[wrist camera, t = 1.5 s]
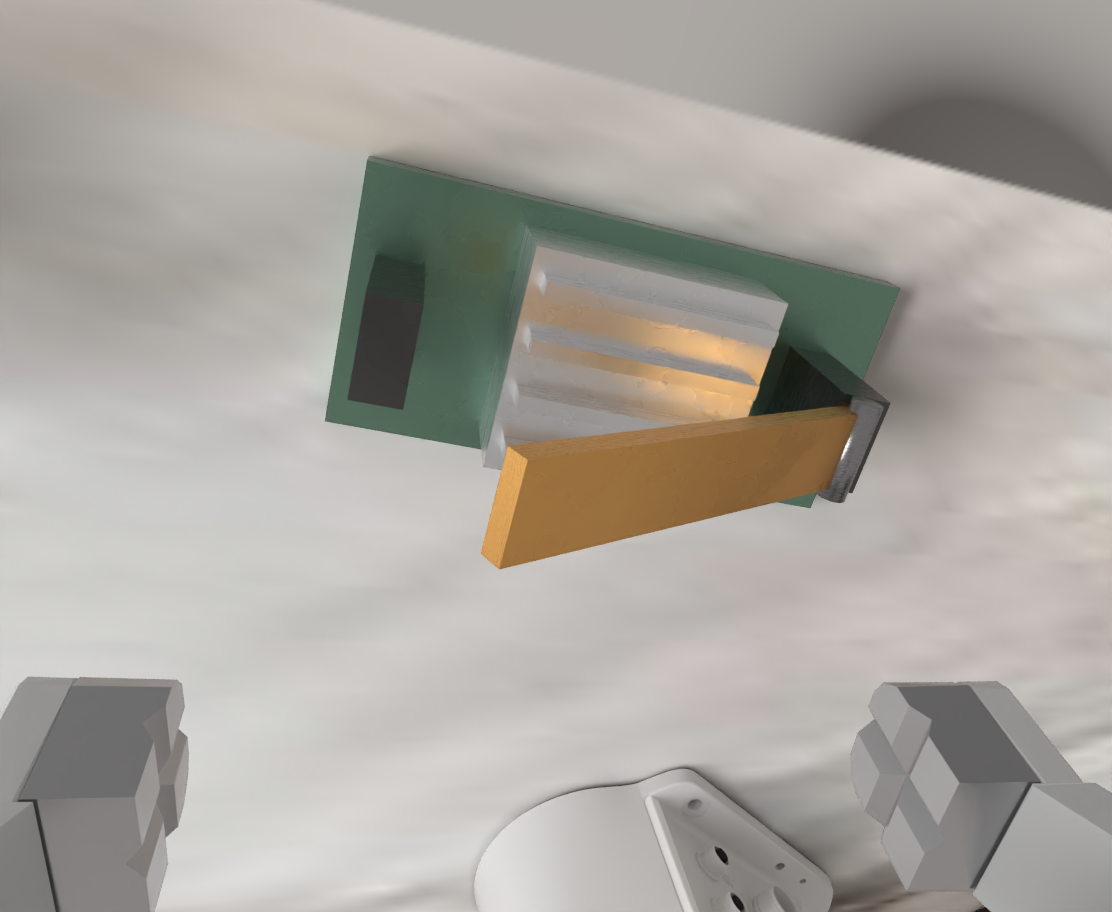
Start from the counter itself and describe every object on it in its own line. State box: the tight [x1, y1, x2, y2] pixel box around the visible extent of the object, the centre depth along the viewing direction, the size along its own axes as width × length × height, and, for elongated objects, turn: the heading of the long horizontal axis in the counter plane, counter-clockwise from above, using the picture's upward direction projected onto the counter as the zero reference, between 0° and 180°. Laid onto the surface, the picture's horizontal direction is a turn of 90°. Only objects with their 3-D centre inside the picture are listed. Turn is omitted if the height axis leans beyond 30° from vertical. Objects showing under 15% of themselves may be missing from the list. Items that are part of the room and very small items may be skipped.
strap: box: [481, 396, 884, 569], centre depth 29 cm, size 18×4×1 cm
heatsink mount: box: [325, 156, 900, 508], centre depth 37 cm, size 23×11×7 cm, turn 76°
